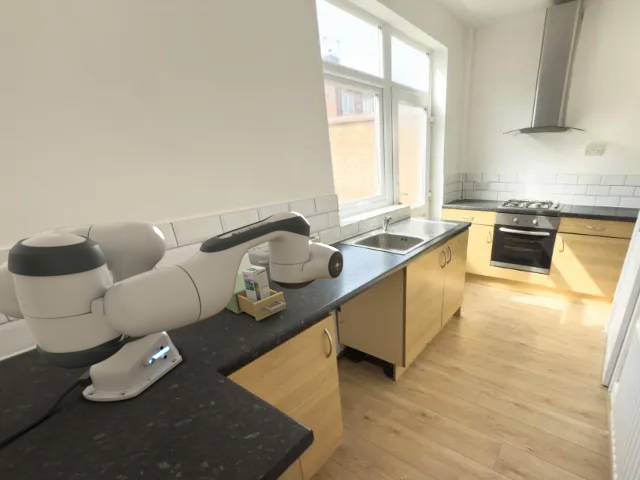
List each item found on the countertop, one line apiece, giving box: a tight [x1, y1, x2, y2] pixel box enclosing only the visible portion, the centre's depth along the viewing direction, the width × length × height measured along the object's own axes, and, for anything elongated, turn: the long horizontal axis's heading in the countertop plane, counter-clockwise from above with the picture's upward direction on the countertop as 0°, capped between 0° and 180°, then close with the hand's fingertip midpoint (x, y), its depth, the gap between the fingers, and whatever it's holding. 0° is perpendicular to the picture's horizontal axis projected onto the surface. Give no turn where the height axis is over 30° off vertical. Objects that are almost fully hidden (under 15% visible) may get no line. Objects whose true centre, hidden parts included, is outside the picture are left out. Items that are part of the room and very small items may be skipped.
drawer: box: [235, 288, 287, 322], centre depth 113 cm, size 19×11×6 cm, turn 52°
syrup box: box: [241, 265, 270, 303], centre depth 112 cm, size 6×6×14 cm
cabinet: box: [224, 273, 246, 315], centre depth 121 cm, size 16×13×8 cm
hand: (269, 246), depth 98 cm, fingers open, 8 cm apart
